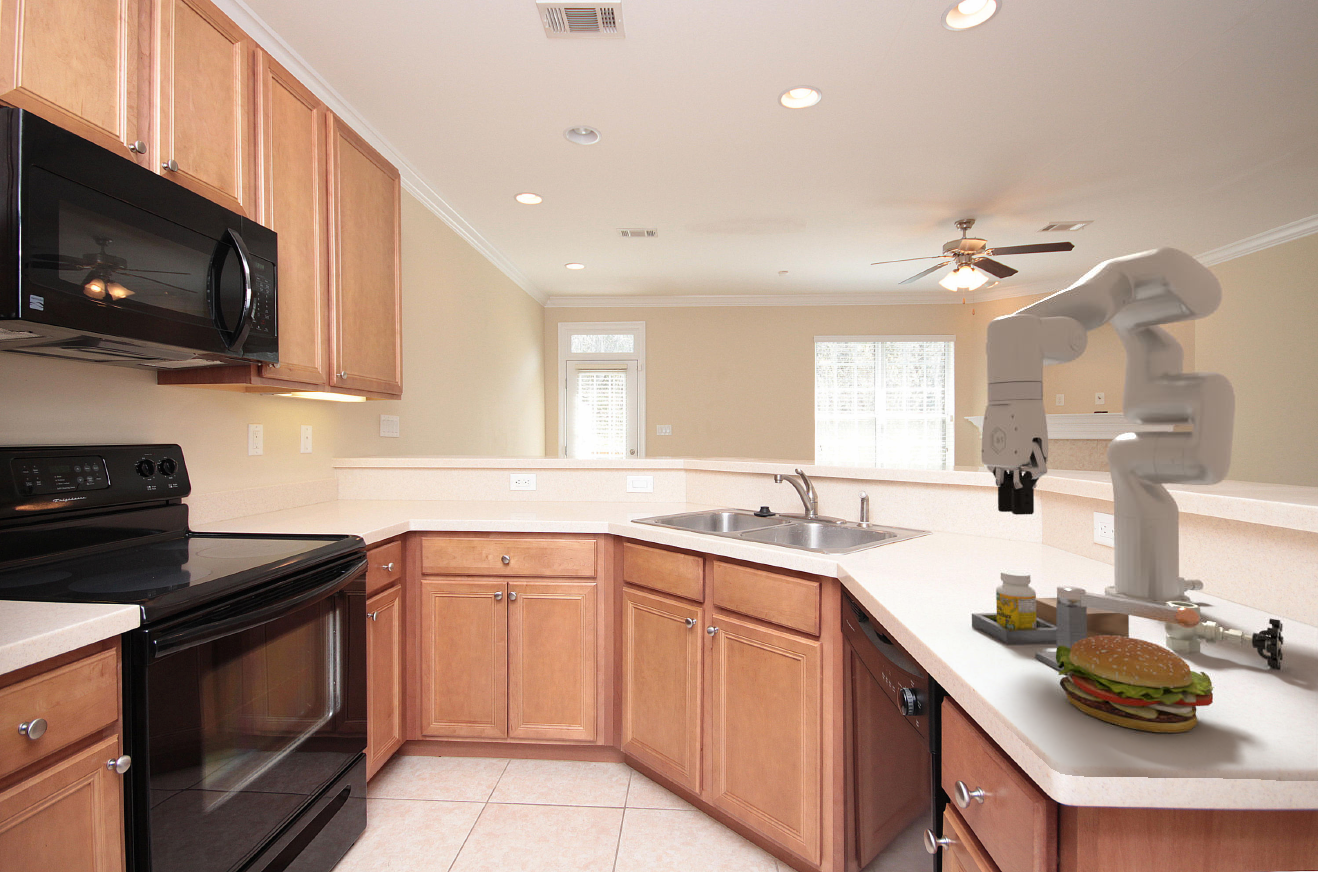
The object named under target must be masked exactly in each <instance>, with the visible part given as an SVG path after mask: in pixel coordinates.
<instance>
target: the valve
mask: <svg viewBox="0 0 1318 872" xmlns="http://www.w3.org/2000/svg"><path fill="white" fill-rule="evenodd" d="M1166 606H1169V607H1175V608H1181V607H1187V608H1190V609H1193V610H1194V611H1195V612H1196V613H1197V614H1198V615H1199V618H1200V619H1201V608H1200V606H1198V605H1197V604H1194V603H1192V602H1191V603H1186V602H1178V601H1170V602H1166ZM1268 624H1269V625H1271V627H1267V629H1264V630H1261V631H1259V632H1258V633H1257V632H1253V633H1252V635H1247V634H1244V631H1242V630H1237V629H1231V628H1229V630H1225V628H1223V627H1221V626H1219V623H1218V622H1216V621H1215V622H1214V621H1211V620H1207V622H1202V621H1199V624H1198V625H1197V626H1196V627H1193V628H1184V627H1181V626H1179V625H1178V624H1173V623H1168V622H1163V626H1164V627H1163V628H1164V630H1165V632H1166V636H1165V637H1166V638H1165V645H1166V647H1167V648H1168V649H1169V650H1170V651H1174V652H1179V653H1184V654H1190V655H1192V654H1200V653H1201V641H1200V640H1204V641H1205V643H1208V644H1212V645H1217V644H1218V642H1219V641H1220V642H1223V641H1224V640H1226V641H1227V640H1228V642H1229V643H1230V644H1235V645H1239V646H1240V645H1241V646H1243V645H1244V643H1246V644H1252V648H1253V649H1256V651H1257V653H1258V655H1259V656H1260V657H1261V658H1262V659H1265V660H1267V662H1266V663H1267V666H1269V668H1270V669H1272V670H1273V669H1274V670H1279V671H1281V669H1282V662H1281V661H1283V660H1284V653H1283V652H1282V645H1284V641H1285V640H1284V638H1285V637H1284V636H1283V635H1282V632H1283V628H1284V627H1283V626H1284V625H1283V623H1281V620H1280V619H1275V618H1269V621H1268ZM1264 651H1266V653H1269V654H1270V655H1269V654H1266V653H1265V652H1264Z"/></svg>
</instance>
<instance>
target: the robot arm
mask: <svg viewBox="0 0 1318 872" xmlns="http://www.w3.org/2000/svg"><path fill="white" fill-rule="evenodd" d="M1222 290H1223V289H1222V285H1221V283H1220V281H1219V279H1218V278H1217V277H1216V275H1215V274H1214V273H1213V272H1212V271H1211V270H1210V269H1208V268H1207V267H1206V266H1205V265H1203V264H1202V263H1201V262H1199V261H1198V260H1197V259H1195V258H1194V257H1193V256H1191V255H1189V253H1186V252H1185V251H1182V250H1181V249H1178V248H1174V247H1167V246H1166V247H1164V246H1163V247H1158V248H1153V249H1149V250H1145V251H1144V250H1143V251H1140V252H1137V253H1132V254H1131V253H1130V254H1128V255H1124V256H1123V255H1122V256H1119V257H1115V258H1111V259H1108V260H1106V261H1104V262H1103V261H1102V262H1101V263H1100V264H1098V265H1097V266H1095V267H1094V268H1092V269H1091V270H1090V271H1089V272H1087V273H1086V274H1085V275H1084V276H1082V277H1081V278H1079V280H1078V281H1076V282H1075V283H1073V284H1072V285H1071V286H1070V287H1068V288H1067V289H1064V290H1061V291H1059V292H1057V293H1055V294H1052V295H1051V296H1048V297H1046V298H1044V299H1041V300H1040V301H1038V302H1035V303H1033V304H1031V305H1029V306H1027V307H1024V308H1022V309H1020V310H1018V311H1016V312H1014V313H1013V314H1010V315H1004V316H999V317H996V318H994V319H992V320H990V322H989V323H988V325H987V328H986V343H985V355H986V371H987V372H986V373H987V374H986V376H987V378H986V379H987V380H986V381H987V383H986V384H987V392H986V393H987V405H986V406H985V410H984V416H983V421H982V422H983V424H982V431H981V432H982V433H981V463H982V464H983V465H985V466H986V468H987V470H988V471H989V472H990V473H992V475H993V476H994V478H995V485H996V487H997V511H999V512H1001V513H1012V515H1016V516H1017V515H1019V516H1020V515H1022V516H1023V515H1033V514H1034V513H1035V499H1034V497H1035V495H1034V491H1035V489H1036V488H1037V485H1038V484H1037V482H1038V481H1039V479H1040V478H1041V477H1043V476H1044V475H1046V474H1047V473H1048V467H1047V463H1048V460H1049V435H1048V423H1047V422H1048V421H1047V416H1046V410H1045V406H1044V367H1046V366H1055V365H1056V366H1057V365H1061V364H1067V363H1071V362H1072V361H1075V360H1076V359H1078V358H1080V357H1081V356H1082V355H1083V354H1084V352H1085V350H1086V349H1087V346H1088V342H1089V341H1088V339H1089V337H1088V333H1089V332H1092V331H1095V330H1098V329H1100V328H1101V327H1103V326H1105V325H1106V324H1107V323H1108V322H1109V324H1110V325H1111V327H1112V328H1113V330H1114V331H1115V333H1116V335H1117V337H1118V338H1119V340H1120V342H1121V343H1122V345H1123V347H1124V350H1125V356H1126V357H1125V358H1126V359H1125V361H1126V362H1125V373H1124V383H1123V392H1122V393H1123V394H1122V413H1123V416H1124V418H1125V420H1126V421H1128V422H1129V423H1131V424H1134V425H1139V426H1159V427H1160V426H1192V431H1187V430H1186V431H1168V430H1167V431H1163V430H1162V431H1161V430H1160V431H1133V432H1126V433H1122V434H1120V435H1117V436H1116V437H1114V438H1113V439H1112V440H1111V441H1110V442H1109V445H1108V447H1107V451H1106V457H1107V464H1108V465H1107V466H1108V469H1109V473H1110V477H1111V482H1112V483H1111V484H1112V491H1113V548H1114V549H1113V551H1114V556H1113V557H1114V564H1113V565H1114V569H1113V571H1114V578H1113V579H1114V585H1109V586H1106V587H1105V588H1104V595H1107V596H1112V597H1118V598H1124V599H1129V600H1135V601H1141V602H1147V603H1152V604H1158V605H1164V606H1166V602H1170V601H1178V602H1186V603H1191V604H1192V602H1191V601H1192V599H1191V598H1190V597H1189V596H1188V595H1186V594H1185V593H1186V592H1188V590H1189V591H1201V590H1203V588H1204V584H1203V581H1201V580H1200V579H1185V577H1182V576H1180V551H1179V550H1180V548H1179V547H1180V546H1179V545H1180V544H1179V542H1180V541H1179V539H1180V538H1179V537H1180V533H1179V531H1180V530H1179V525H1180V524H1179V523H1180V521H1179V520H1180V516H1179V515H1180V514H1179V513H1180V510H1179V507H1178V504H1177V502H1176V500H1175V499H1174V497H1173V496H1172V494H1171V493H1170V492H1169V491H1168V490H1167V489H1166V488H1165V486H1164V485H1165V484H1166V485H1167V484H1171V485H1172V484H1173V485H1174V484H1175V485H1189V486H1190V485H1191V486H1212V485H1217V484H1219V483H1221V482H1223V481H1224V480H1225V479H1226V478H1227V476H1228V474H1229V471H1230V466H1231V460H1232V452H1233V451H1232V449H1233V448H1232V447H1233V439H1234V437H1233V436H1234V425H1235V424H1234V423H1235V410H1236V397H1235V390H1234V388H1233V386H1232V383H1231V381H1230V380H1229V379H1228V377H1226V376H1225V375H1224V374H1221V373H1219V372H1215V371H1197V372H1196V371H1194V372H1183V370H1184V368H1183V367H1184V353H1185V352H1184V348H1183V346H1182V345H1181V343H1180V342H1179V341H1178V340H1177V339H1176V338H1175V337H1174V336H1173V335H1172V334H1171V333H1169V332H1168V331H1166V329H1164V328H1163V327H1161V326H1160V325H1166V324H1174V323H1181V322H1187V321H1195V320H1200V319H1204V318H1207V317H1209V316H1211V315H1213V314H1214V313H1215V312H1216V311H1217V310H1218V308H1219V307H1220V305H1221V302H1222V298H1223V291H1222Z"/></svg>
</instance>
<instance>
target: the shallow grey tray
mask: <svg viewBox="0 0 1318 872" xmlns="http://www.w3.org/2000/svg"><path fill="white" fill-rule="evenodd" d="M971 626H972V627H974V628H975V629H977V630H979V631H981V632H983V633H985V634H986V635H989V636H990V637H992V638H994V639H996V640H998V641H1000V642H1001V643H1003V644H1004V645H1007V646H1008V645H1037V644H1039V645H1040V644H1042V645H1043V644H1044V645H1045V644H1057V626H1055V625H1053V624H1051V623H1048V622H1046V621H1044V620H1041V619H1039V618H1037V617H1036V628H1022V629H1008V628H1006V627H1004V626H1002V625H1000V624H998V623H997V612H982V613H981V612H980V613H979V612H978V613H971Z"/></svg>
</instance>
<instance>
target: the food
mask: <svg viewBox="0 0 1318 872" xmlns="http://www.w3.org/2000/svg"><path fill="white" fill-rule="evenodd" d="M1055 652H1056V661H1057V663H1058V667H1059V668H1060V669H1061V668H1063V667H1064V669H1063V670H1062V671H1059V670H1058V671H1059V672H1058V676H1062V675H1066V674H1065V673H1067V674H1068V675H1066V676H1063V677H1061V679H1060V681H1059V685H1060V687H1061V689H1062V690H1063V691H1064V692H1065V695H1066V697H1067V700H1068V702H1069V703H1070V704H1071V705H1073V706H1074V707H1076V708H1077V709H1078V710H1080V711H1081V712H1082V713H1084V714H1087V715H1088V716H1091V717H1094V718H1097V719H1099V720H1102V721H1103V722H1104V721H1105V722H1107V723H1111V724H1114V725H1118V726H1120V727H1124V728H1128V729H1134V730H1140V731H1144V732H1145V731H1146V732H1151V733H1183V732H1189V731H1191V730H1192V729H1193V728H1194V727H1195V726H1196V725H1197V724H1198V717H1197V714H1196V713H1197V707H1207V706H1210V705H1211V704H1213V701H1214V699H1213V695H1214V694H1213V689H1214V688H1215V687H1214V686H1213V685H1212V683H1213V682H1212V680H1211V679H1210V676H1209V675H1208V674H1207V673H1205V672H1204V671H1200V672H1199V673H1198V672H1196V671H1195V670H1191V668H1190V665H1189V664H1188V663H1187V662H1186V661H1185V660H1184V659H1183V658H1182V657H1181V656H1179V655H1178V654H1176V653H1174V652H1173V651H1172V650H1170V649H1169V648H1168V649H1167V648H1166V647H1163V646H1161V645H1159V644H1157V643H1154V642H1149V641H1147V640H1144V639H1140V638H1139V639H1138V638H1132V637H1129V638H1128V637H1122V636H1109V635H1108V636H1107V635H1102V636H1093V637H1088V638H1085V639H1081V640H1079V641H1078V642H1076V643H1074V644H1073V645H1072V647H1071V649H1070V648H1068V647H1066V646H1059V647H1058V648H1057V647H1056V651H1055Z"/></svg>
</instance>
